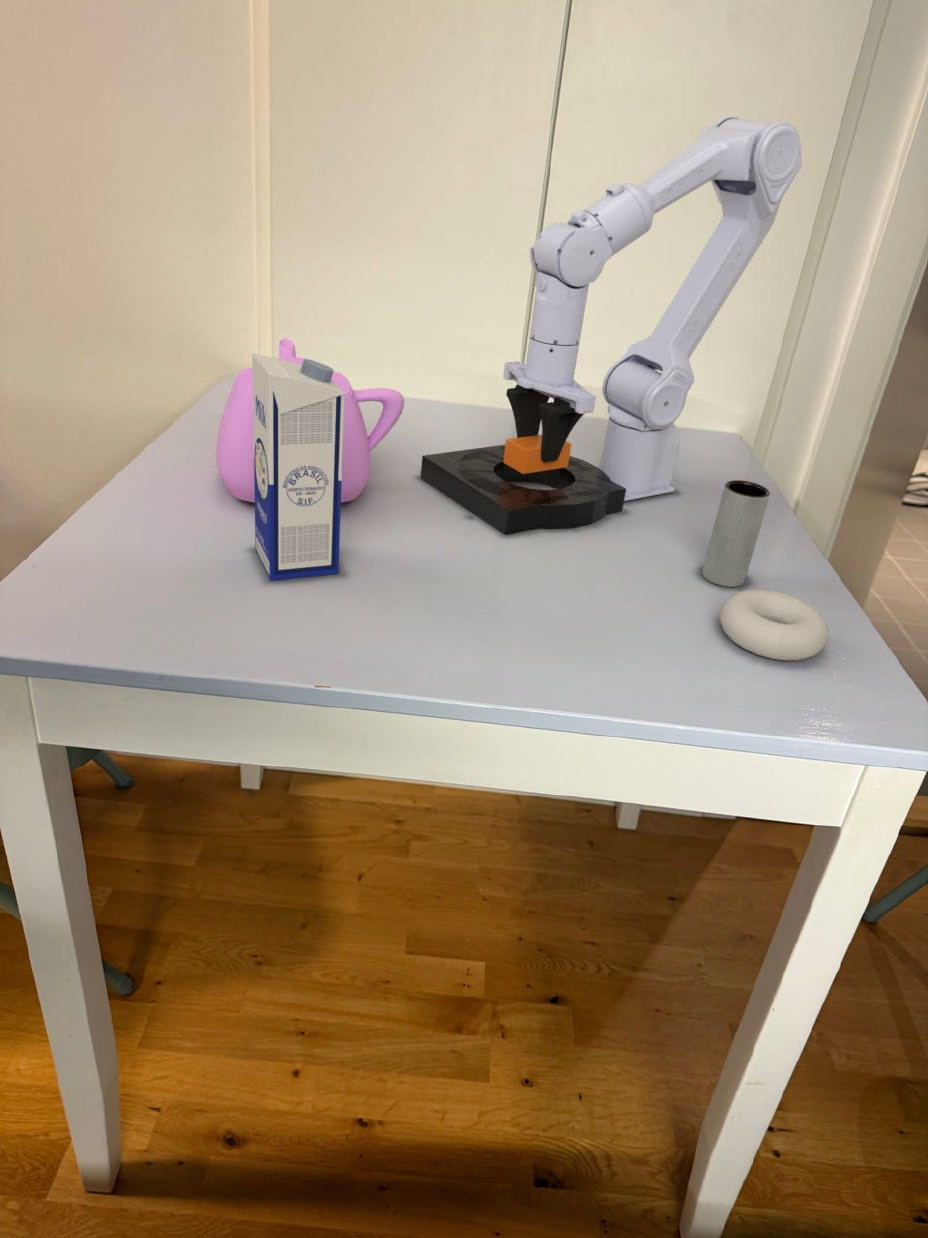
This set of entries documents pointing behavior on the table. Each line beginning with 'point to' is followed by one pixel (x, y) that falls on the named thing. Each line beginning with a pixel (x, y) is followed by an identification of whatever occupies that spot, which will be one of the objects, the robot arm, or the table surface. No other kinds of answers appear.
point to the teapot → (357, 446)
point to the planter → (735, 532)
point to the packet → (532, 455)
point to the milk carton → (297, 467)
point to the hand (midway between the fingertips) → (537, 453)
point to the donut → (774, 624)
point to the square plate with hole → (522, 490)
